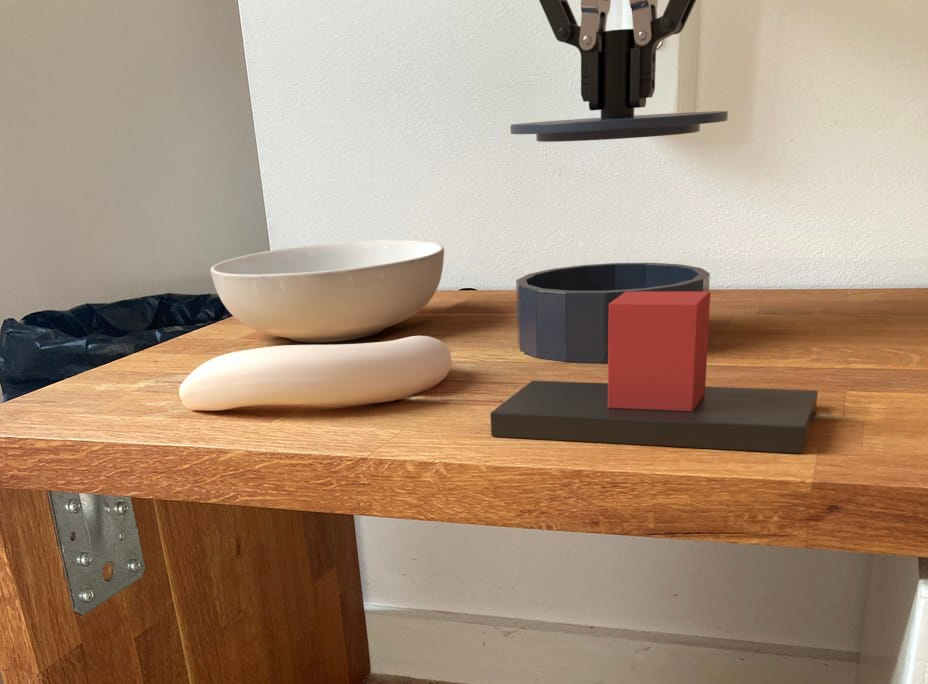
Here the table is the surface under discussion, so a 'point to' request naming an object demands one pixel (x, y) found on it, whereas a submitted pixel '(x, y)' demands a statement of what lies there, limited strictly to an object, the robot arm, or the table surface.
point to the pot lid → (618, 105)
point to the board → (660, 418)
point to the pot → (588, 305)
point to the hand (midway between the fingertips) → (617, 107)
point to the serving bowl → (330, 288)
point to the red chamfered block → (658, 350)
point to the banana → (318, 374)
